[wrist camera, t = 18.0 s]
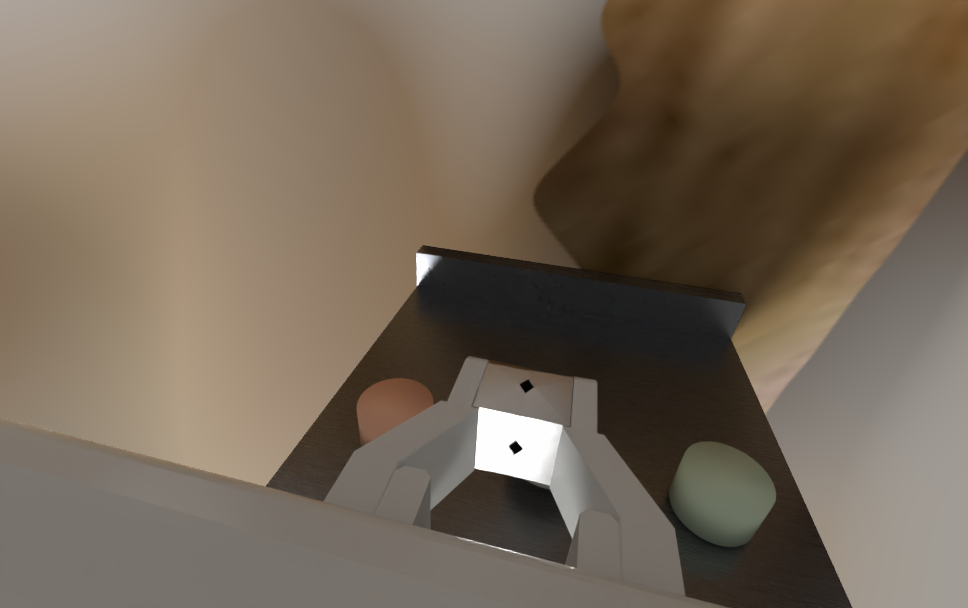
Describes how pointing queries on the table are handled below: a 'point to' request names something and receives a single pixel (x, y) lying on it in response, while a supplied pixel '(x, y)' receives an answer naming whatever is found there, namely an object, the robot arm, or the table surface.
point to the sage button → (721, 493)
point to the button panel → (620, 411)
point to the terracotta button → (390, 406)
